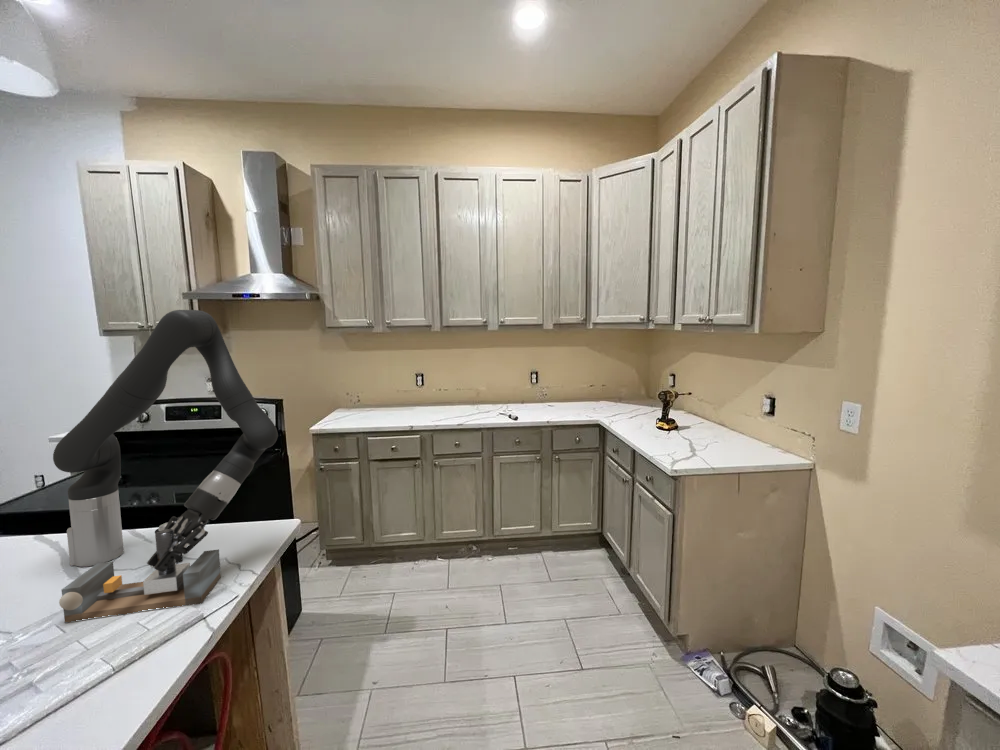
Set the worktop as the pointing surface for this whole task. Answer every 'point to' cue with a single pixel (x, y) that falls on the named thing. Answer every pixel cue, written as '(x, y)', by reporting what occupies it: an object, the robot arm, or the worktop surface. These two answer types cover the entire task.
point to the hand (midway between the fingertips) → (155, 567)
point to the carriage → (173, 573)
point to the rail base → (136, 591)
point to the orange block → (112, 584)
